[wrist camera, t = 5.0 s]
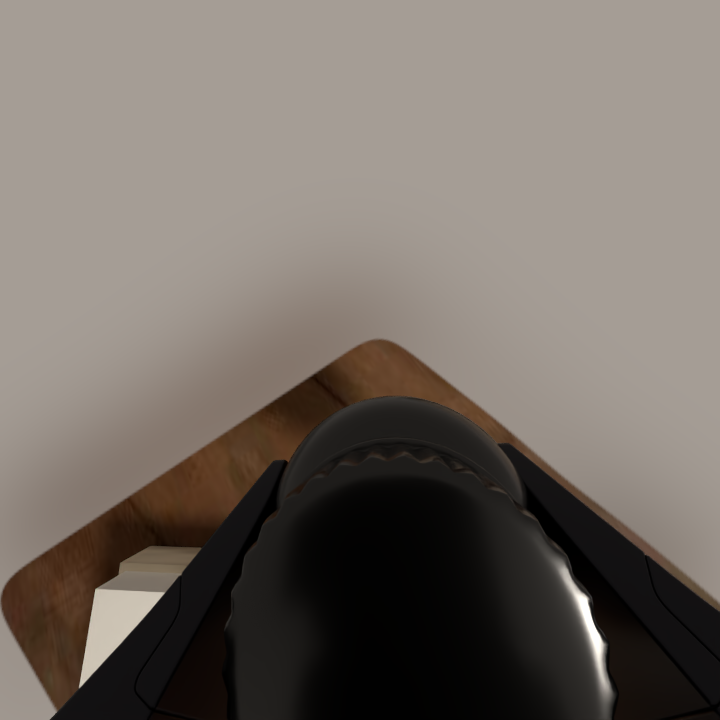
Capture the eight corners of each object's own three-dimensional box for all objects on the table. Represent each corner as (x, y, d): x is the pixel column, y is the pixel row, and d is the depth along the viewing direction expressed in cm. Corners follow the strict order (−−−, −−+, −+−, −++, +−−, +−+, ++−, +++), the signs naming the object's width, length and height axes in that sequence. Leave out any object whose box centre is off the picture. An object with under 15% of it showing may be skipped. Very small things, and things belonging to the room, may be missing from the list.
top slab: (249, 767, 16) (230, 816, 14) (98, 750, 17) (61, 794, 15) (260, 577, 18) (245, 596, 16) (125, 570, 19) (95, 589, 17)
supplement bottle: (315, 439, 16) (88, 508, 4) (416, 382, 16) (484, 286, 4) (371, 558, 14) (265, 1264, 2) (484, 495, 14) (943, 899, 2)
